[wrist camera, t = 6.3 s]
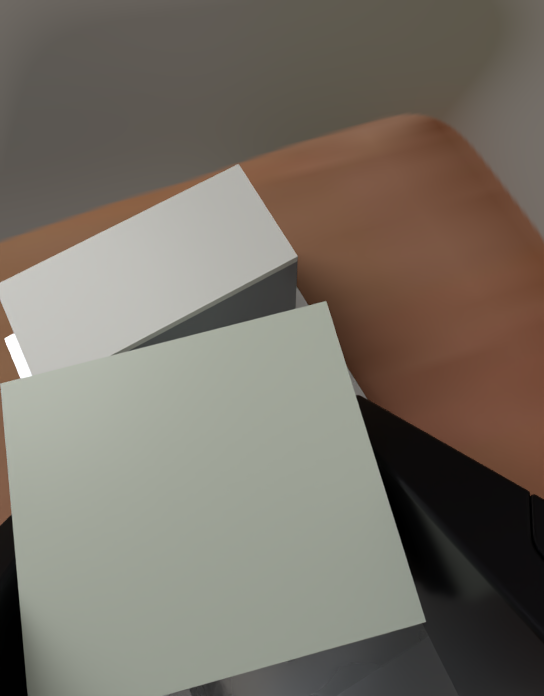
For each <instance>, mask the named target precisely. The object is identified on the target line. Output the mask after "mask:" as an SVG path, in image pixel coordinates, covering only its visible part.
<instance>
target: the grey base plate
mask: <svg viewBox="0 0 544 696" xmlns="http://www.w3.org/2000/svg"><path fill="white" fill-rule="evenodd" d="M305 306H309V305H308V304H307V302H306V301H305V299H304V297H303V296H302V294H301V293H300V291H299V289H298V288H297V286H296V308H295V309H297V308H301V307H305ZM5 341H6V344H7V346H8V349H9V351H10V353H11V356H12V358H13V361H14V363H15V366H16V368H17V371H18V373H19V375H20V378H25V377H29V376H32V374H31V372H30V370H29V367H28V365H27V362H26V360H25V358H24V355H23V353H22V350H21V348H20V346H19V343H18V341H17V339H16V336H15V334H12V335H10V336H8V337H7V338H5ZM347 369H348V368H347ZM348 373H349V376H350V379H351V382H352V385H353V389H354V392H355V395H360V396H362V397H364V398H366V396H365V395H364V393H363V392H362V390H361V388H360V387H359V385H358V384H357V382H356V380H355V379H354V377H353V376H352V374H351V372H350V371H349V369H348ZM366 399H367V398H366ZM426 637H428V634H427V632H426V630H425V628H424V626H423V624H422V623H421V624H417V625H414V626H410V627H407V628H403V629H399V630H396V631H392V632H389V633H385V634H382V635H378V636H374V637H371V638H367V639H364V640H360V641H357V642H353V643H349V644H346V645H342V646H339V647H335V648H332V649H328V650H324V651H321V652H317V653H314V654H310V655H307V656H303V657H299V658H296V659H292V660H289V661H285V662H282V663H278V664H274V665H271V666H267V667H264V668H260V669H257V670H253V671H249V672H246V673H242V674H239V675H235V676H232V677H228V678H225V679H221V680H217V681H214V682H210V683H207V684H203V685H200V686H196V687H192V688H189V689H185V690H182V691H178V692H175V693H171V694H167V695H164V696H337V695H339V694H340V693H342V692H343V691H345V690H346V689H348V688H349V687H351V686H352V685H354V684H356V683H357V682H359V681H360V680H362V679H363V678H365V677H366V676H368V675H369V674H371V673H372V672H374V671H376V670H377V669H379V668H380V667H382V666H383V665H385V664H386V663H388V662H389V661H391V660H392V659H394V658H395V657H397V656H399V655H400V654H402V653H403V652H405V651H406V650H408V649H409V648H411V647H412V646H414V645H415V644H417V643H419V642H420V641H422V640H423V639H425V638H426Z"/></svg>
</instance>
